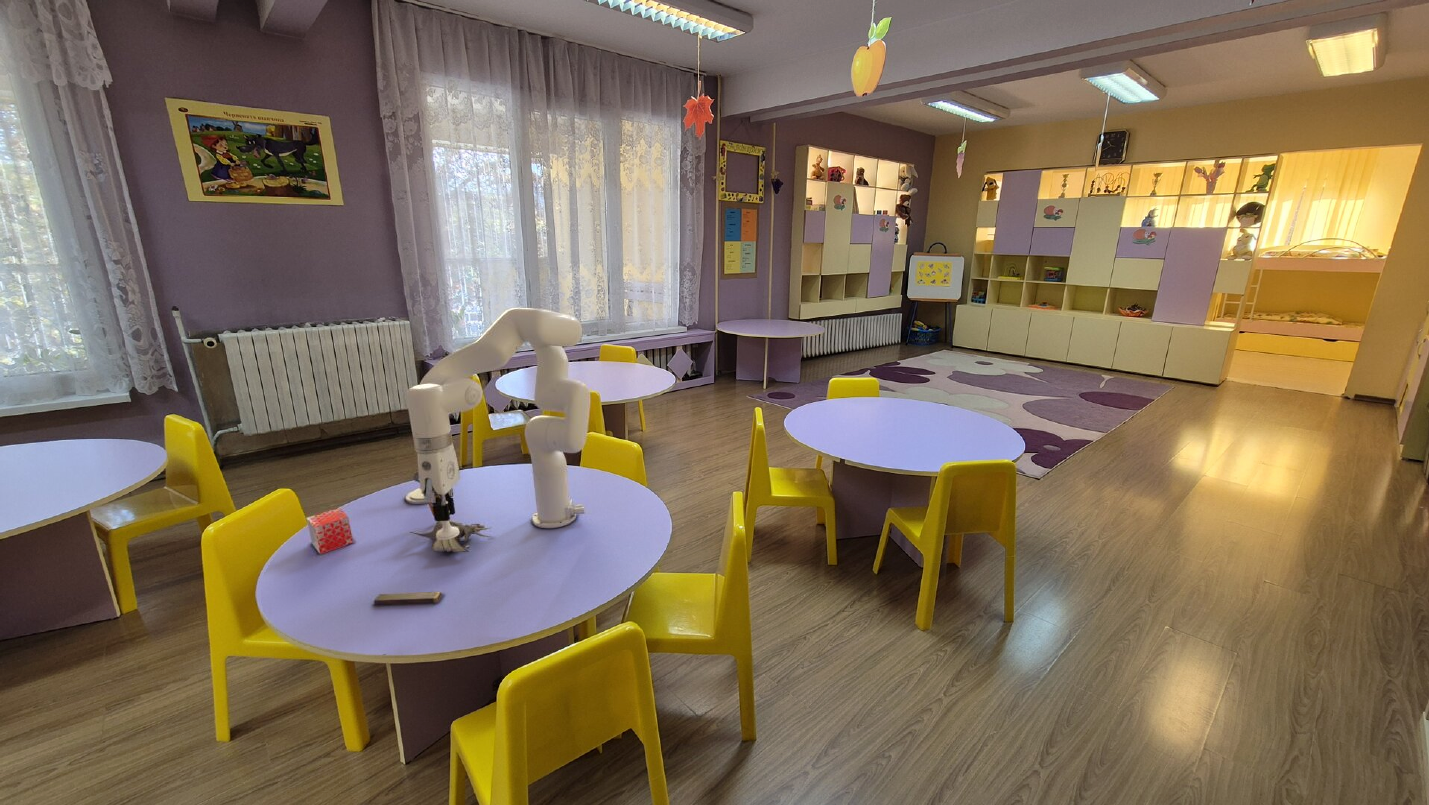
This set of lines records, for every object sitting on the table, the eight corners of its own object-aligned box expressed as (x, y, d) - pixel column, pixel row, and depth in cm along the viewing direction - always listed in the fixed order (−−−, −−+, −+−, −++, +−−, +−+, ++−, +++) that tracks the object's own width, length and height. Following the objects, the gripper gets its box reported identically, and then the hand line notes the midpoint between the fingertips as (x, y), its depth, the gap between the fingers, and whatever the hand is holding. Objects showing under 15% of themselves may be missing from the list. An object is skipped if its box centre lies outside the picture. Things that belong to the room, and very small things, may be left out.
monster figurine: (455, 489, 189) (451, 460, 186) (430, 505, 177) (425, 475, 174) (424, 486, 191) (419, 458, 188) (397, 502, 180) (392, 472, 177)
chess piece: (444, 542, 127) (437, 501, 124) (431, 536, 129) (424, 496, 127) (464, 532, 131) (458, 493, 128) (451, 527, 133) (445, 488, 131)
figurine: (487, 507, 164) (495, 534, 149) (488, 526, 165) (496, 554, 151) (408, 519, 155) (409, 548, 140) (410, 539, 156) (411, 570, 142)
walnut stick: (442, 595, 132) (441, 591, 132) (437, 602, 130) (436, 597, 129) (380, 598, 131) (379, 593, 131) (374, 605, 129) (373, 600, 129)
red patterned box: (353, 542, 156) (348, 516, 154) (320, 554, 150) (314, 527, 148) (344, 533, 161) (339, 507, 159) (312, 543, 156) (306, 517, 153)
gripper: (435, 453, 116) (447, 534, 121) (464, 428, 132) (474, 501, 137) (397, 454, 116) (411, 535, 121) (431, 429, 131) (443, 502, 136)
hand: (445, 516), depth 129 cm, fingers closed on chess piece
